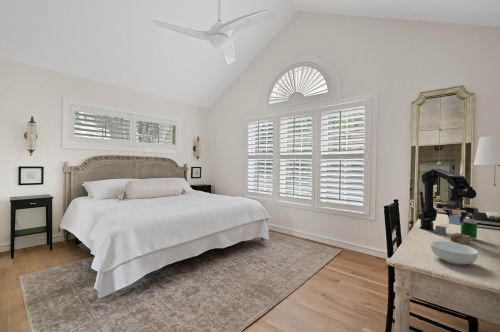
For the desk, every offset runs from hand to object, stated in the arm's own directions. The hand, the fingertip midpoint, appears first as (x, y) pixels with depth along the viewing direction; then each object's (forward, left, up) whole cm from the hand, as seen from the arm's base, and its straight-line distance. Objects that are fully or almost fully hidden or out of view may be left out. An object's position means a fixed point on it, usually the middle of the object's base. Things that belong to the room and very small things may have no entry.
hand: (455, 222), depth 145 cm
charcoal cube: (-11, +8, -12) cm, 18 cm away
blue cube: (0, 0, -1) cm, 1 cm away
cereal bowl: (+14, -40, -12) cm, 44 cm away
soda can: (+1, +14, -12) cm, 18 cm away
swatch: (-5, +6, -11) cm, 14 cm away
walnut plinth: (+2, +1, -11) cm, 12 cm away
